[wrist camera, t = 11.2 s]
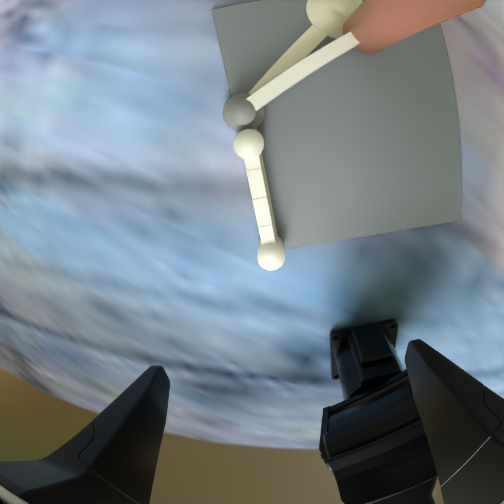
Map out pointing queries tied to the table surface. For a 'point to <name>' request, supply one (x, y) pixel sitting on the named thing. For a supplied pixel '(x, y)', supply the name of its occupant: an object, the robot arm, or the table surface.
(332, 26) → the board
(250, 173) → the cream dumbbell
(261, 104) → the brown cylinder with stick
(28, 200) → the table surface
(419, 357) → the robot arm
